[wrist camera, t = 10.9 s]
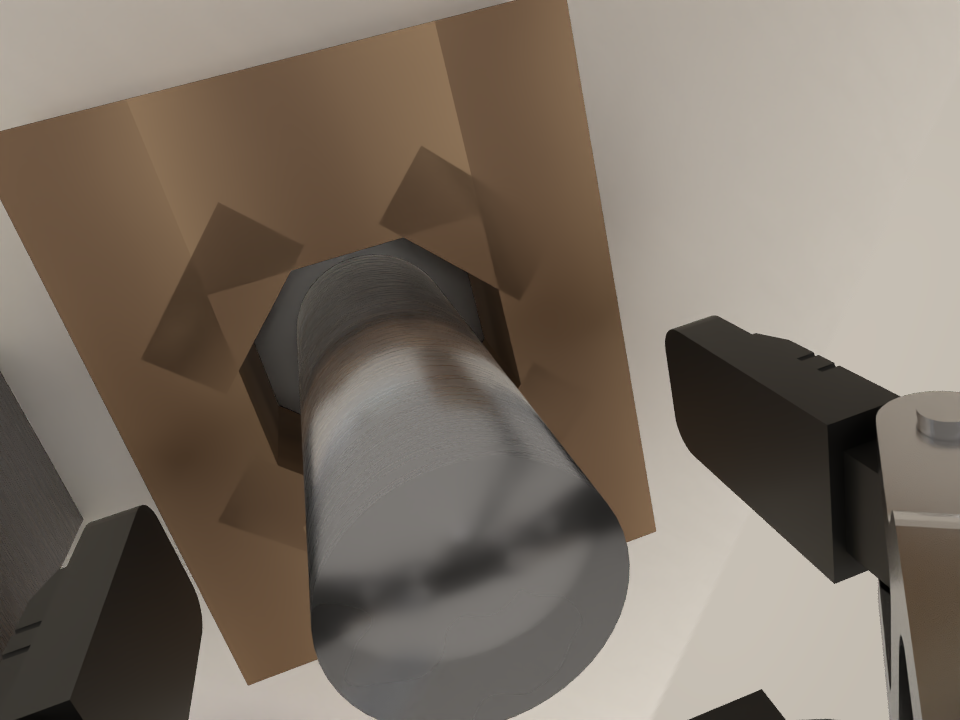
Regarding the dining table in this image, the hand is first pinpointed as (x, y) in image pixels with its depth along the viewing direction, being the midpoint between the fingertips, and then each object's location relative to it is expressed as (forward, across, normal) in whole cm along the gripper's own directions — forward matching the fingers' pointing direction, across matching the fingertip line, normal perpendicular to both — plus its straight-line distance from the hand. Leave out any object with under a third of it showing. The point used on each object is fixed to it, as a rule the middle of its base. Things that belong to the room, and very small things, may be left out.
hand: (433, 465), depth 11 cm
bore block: (+7, 0, 0) cm, 7 cm away
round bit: (+7, 0, 0) cm, 7 cm away
